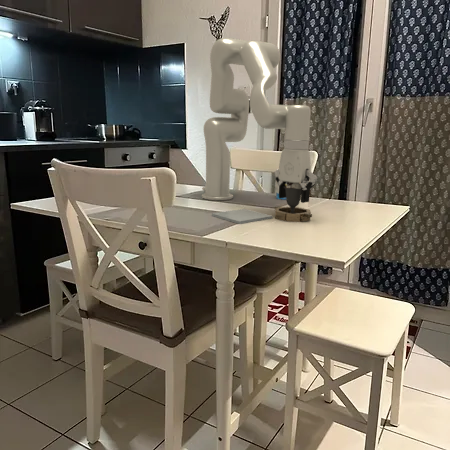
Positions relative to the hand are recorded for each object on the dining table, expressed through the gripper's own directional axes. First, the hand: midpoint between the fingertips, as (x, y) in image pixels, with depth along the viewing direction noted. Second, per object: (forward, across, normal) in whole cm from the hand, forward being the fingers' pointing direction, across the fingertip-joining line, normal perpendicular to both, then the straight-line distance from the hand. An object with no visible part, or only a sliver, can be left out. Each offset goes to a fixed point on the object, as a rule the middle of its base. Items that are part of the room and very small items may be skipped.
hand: (293, 199), depth 139 cm
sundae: (+6, 0, 0) cm, 6 cm away
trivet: (+6, -10, -13) cm, 17 cm away
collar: (+6, 0, 0) cm, 6 cm away
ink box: (+6, -28, +26) cm, 39 cm away
